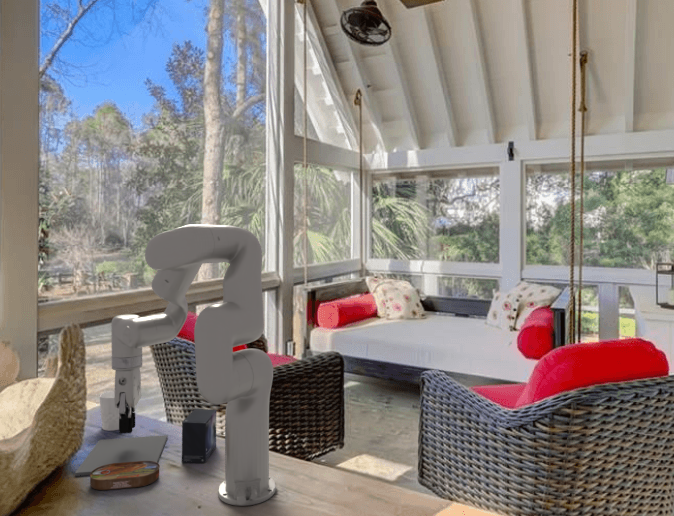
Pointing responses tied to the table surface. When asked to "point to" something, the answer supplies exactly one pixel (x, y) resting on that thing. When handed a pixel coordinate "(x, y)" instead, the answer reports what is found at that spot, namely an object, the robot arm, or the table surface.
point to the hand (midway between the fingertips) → (127, 429)
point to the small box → (198, 436)
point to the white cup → (109, 411)
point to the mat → (122, 452)
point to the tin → (124, 475)
